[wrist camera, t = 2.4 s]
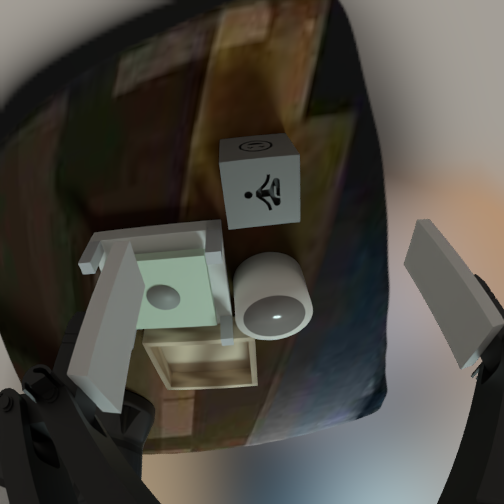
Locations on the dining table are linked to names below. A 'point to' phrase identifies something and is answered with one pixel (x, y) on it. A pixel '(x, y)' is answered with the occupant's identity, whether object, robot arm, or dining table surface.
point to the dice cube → (260, 180)
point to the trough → (201, 357)
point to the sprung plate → (175, 290)
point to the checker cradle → (173, 240)
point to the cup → (271, 296)
